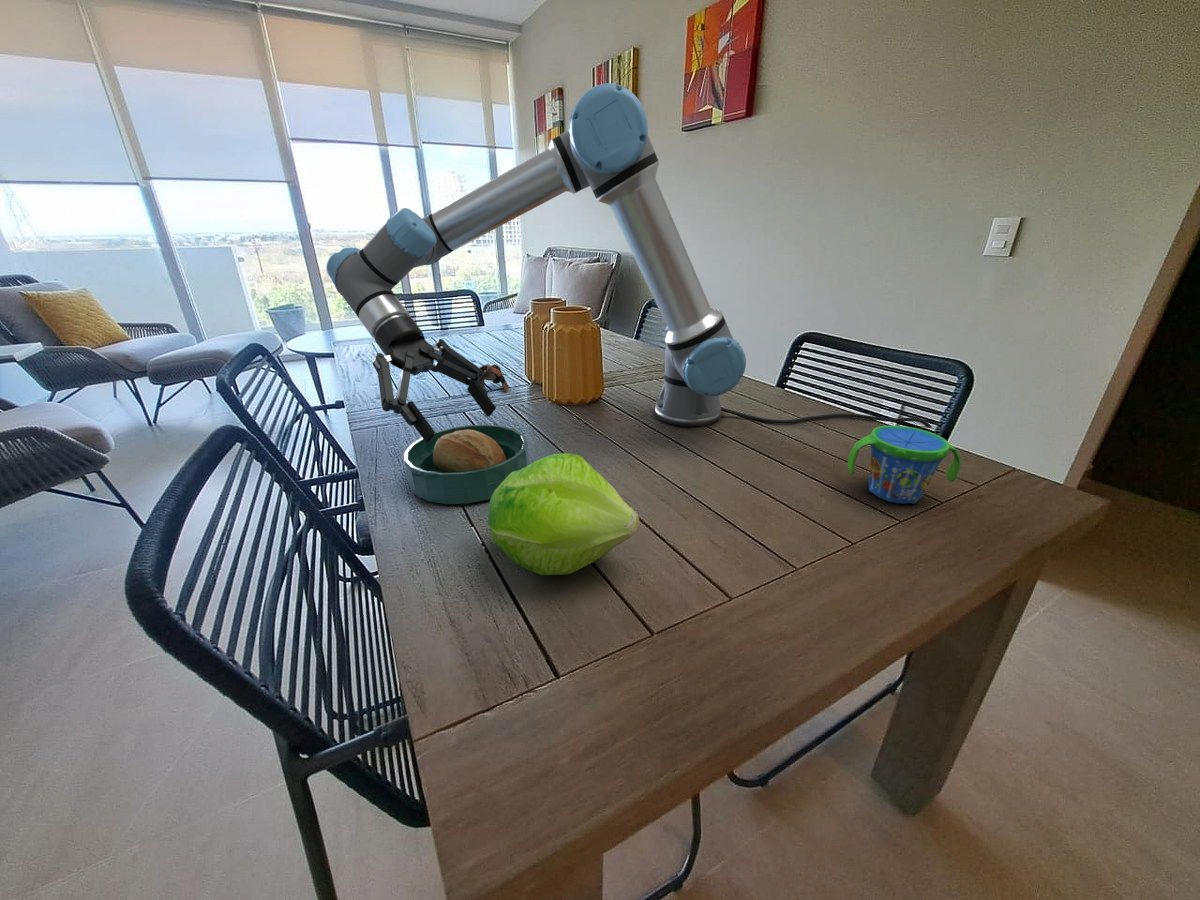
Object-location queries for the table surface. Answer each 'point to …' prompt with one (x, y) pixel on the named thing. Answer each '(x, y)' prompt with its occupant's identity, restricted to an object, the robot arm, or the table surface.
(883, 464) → the snack cup
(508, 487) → the lettuce
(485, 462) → the bread roll
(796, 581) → the table surface
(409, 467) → the bowl
